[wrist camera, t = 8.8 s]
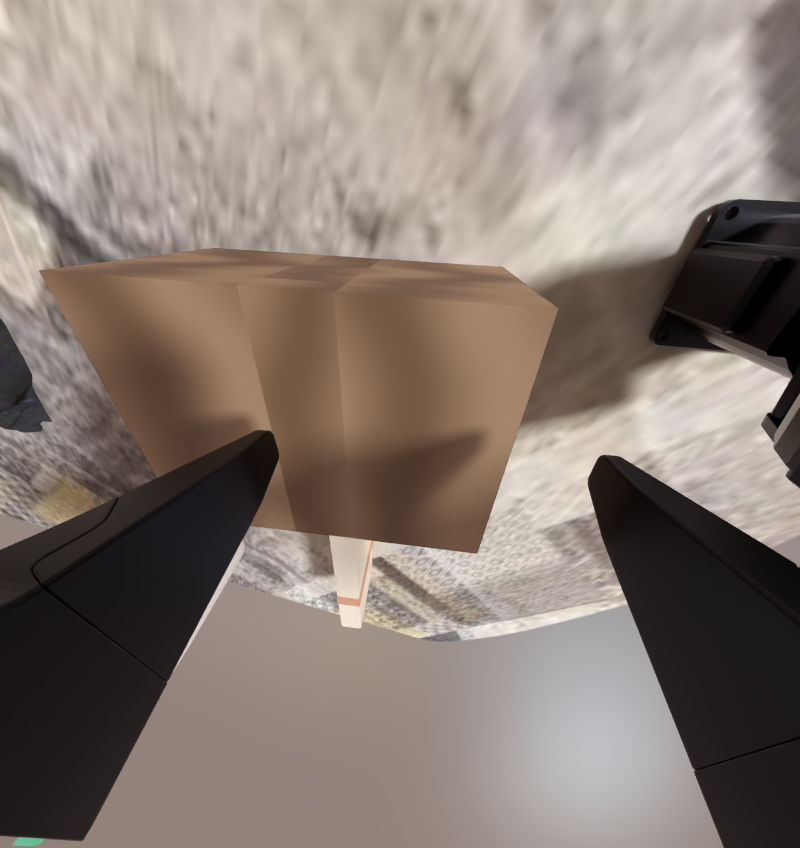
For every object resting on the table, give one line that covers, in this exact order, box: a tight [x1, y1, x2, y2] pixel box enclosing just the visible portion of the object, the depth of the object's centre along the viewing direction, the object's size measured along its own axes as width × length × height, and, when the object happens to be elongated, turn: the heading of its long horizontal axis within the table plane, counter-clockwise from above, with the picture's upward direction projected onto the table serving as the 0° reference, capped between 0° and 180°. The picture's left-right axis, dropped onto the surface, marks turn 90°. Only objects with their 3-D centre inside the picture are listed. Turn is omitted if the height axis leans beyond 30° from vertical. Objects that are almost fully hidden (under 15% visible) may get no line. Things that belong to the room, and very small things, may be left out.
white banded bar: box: [329, 535, 373, 628], centre depth 26 cm, size 2×16×6 cm, turn 177°
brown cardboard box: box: [39, 248, 558, 553], centre depth 16 cm, size 16×13×9 cm
